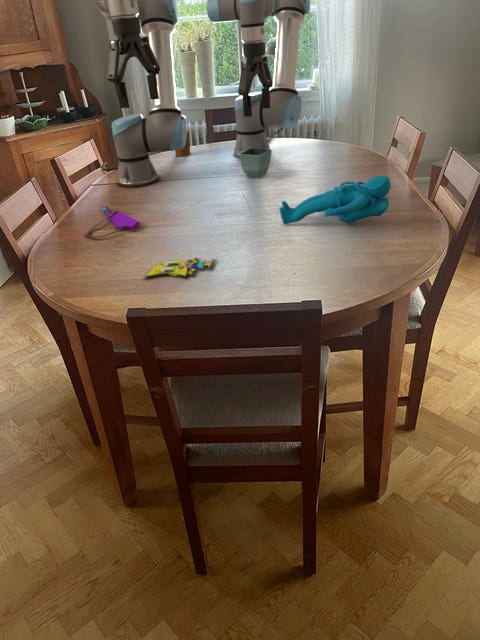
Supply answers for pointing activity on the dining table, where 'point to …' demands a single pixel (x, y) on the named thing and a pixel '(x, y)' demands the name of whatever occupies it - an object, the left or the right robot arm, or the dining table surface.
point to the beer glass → (186, 148)
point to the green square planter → (255, 161)
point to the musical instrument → (117, 221)
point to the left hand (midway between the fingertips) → (140, 103)
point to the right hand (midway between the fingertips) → (257, 112)
